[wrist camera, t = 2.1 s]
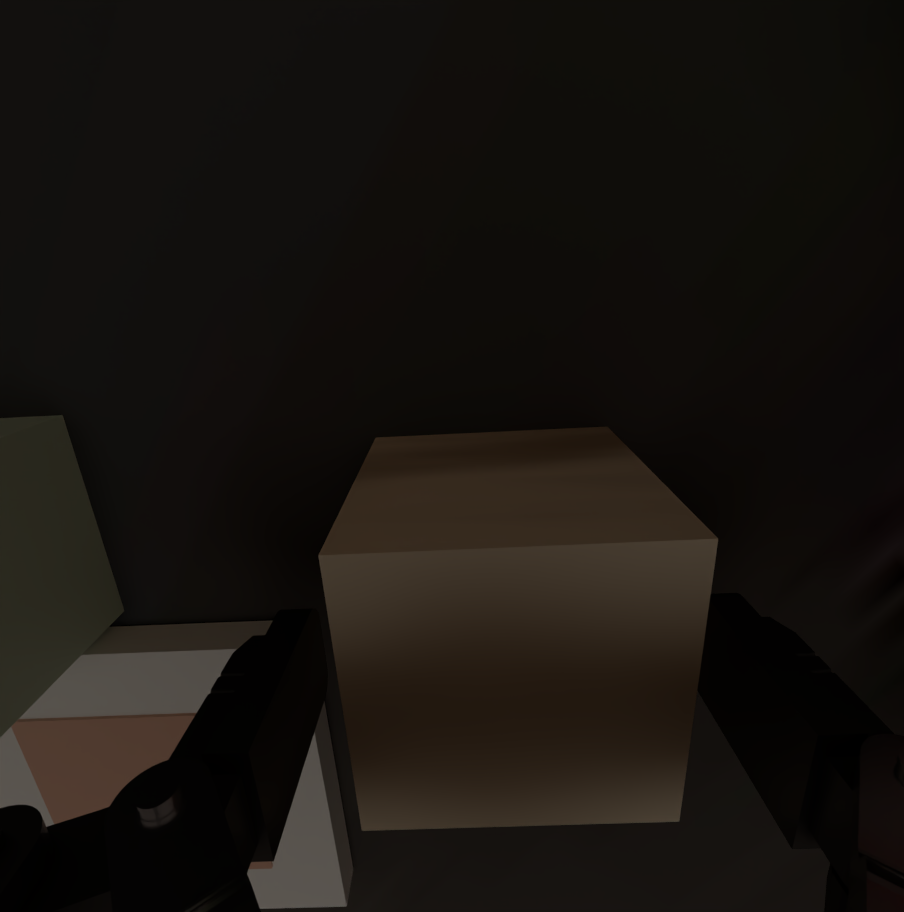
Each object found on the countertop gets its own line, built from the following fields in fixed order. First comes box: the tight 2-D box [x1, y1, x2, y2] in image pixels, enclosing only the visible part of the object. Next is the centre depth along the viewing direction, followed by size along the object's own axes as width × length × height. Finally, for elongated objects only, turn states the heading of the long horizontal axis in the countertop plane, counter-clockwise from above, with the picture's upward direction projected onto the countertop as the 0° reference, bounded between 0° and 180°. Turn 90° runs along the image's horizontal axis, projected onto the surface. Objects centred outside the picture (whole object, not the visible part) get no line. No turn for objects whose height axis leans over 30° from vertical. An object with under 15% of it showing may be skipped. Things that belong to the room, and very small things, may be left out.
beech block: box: [318, 427, 718, 831], centre depth 12 cm, size 6×6×6 cm
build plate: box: [0, 620, 353, 909], centre depth 17 cm, size 11×11×1 cm
